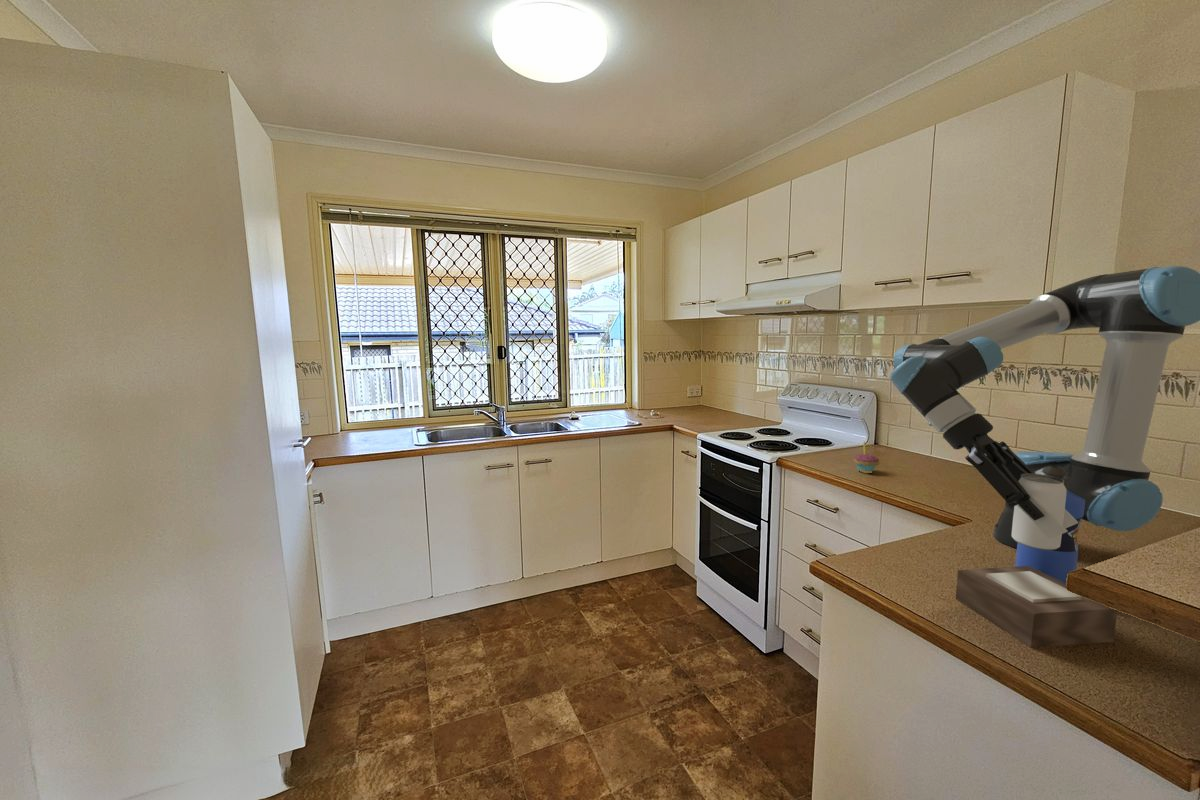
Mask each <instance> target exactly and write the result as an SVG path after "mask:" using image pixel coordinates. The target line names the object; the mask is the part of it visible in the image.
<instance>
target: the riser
mask: <svg viewBox="0 0 1200 800" xmlns="http://www.w3.org/2000/svg"><path fill="white" fill-rule="evenodd" d="M956 577H957V578H956V588H955V589H956V590H955V599H956V601H959V602H960V603H962V604H963V605H965V606H966V607H968V608H969V609H970V610H972V611H974V612H975V613H977V614H978V615H980V616H981V617H983V618H984V617H985V619H986V620H988V621H989V622H991V623H993V624H994V625H995V626H996V627H998V628H1000V629H1002V630H1003V631H1004V632H1006V633H1008V634H1009V635H1011V636H1012V637H1014V638H1015V639H1017V640H1019V641H1020V642H1021V643H1023V644H1024V645H1025V646H1028V647H1029V648H1031V649H1033V648H1044V647H1055V646H1056V647H1058V646H1060V647H1061V646H1073V645H1086V644H1087V645H1089V644H1101V643H1104V644H1105V643H1114V642H1115V641H1114V640H1115V632H1116V624H1117V616H1118V610H1114V609H1111V608H1109V607H1106V606H1104V605H1102V604H1100V603H1097V602H1095V601H1092V600H1089V599H1087V598H1084V597H1082V596H1080V595H1077V594H1075V593H1072V592H1070V591H1068V590H1067V588H1066V583H1064V582H1061V581H1059V580H1057V579H1055V578H1053V577H1051V576H1049V575H1047V574H1045V573H1043V572H1041V571H1038V570H1036V569H1034V568H1032V567H1030V566H1019V567H1015V566H1003V567H1001V566H1000V567H988V568H987V567H986V568H985V567H983V568H969V569H968V568H967V569H965V568H964V569H958V570H957V576H956Z"/></svg>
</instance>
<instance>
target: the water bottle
mask: <svg viewBox="0 0 1200 800" xmlns="http://www.w3.org/2000/svg"><path fill="white" fill-rule="evenodd" d="M1042 471H1043V473H1044V474H1045V475H1048V476H1053V477H1057V478H1060V479H1062V480H1064V486H1065V488H1066V487H1068V485H1069V479H1068V478H1065V476H1067V475H1068V473H1067V472H1066V471H1065V470H1064V469H1063V468H1062V467H1060V466H1048V467H1047V468H1045V469H1043V470H1042ZM1066 490H1067V493H1066V503H1065V509H1066V510H1067V511H1068V512H1069V513H1070V514H1071V515H1072V516H1073V517H1074V518H1075V519H1076V520H1077V521H1078V522H1079V523H1077V524H1075V525H1073V526H1070V527H1068V528H1066V530H1067V532H1066V533H1063V534H1062V537H1061V545H1060V547H1059V548H1057V549H1055V550H1042V549H1036V548H1032V547H1028V546H1025V545H1022V544H1020V543H1018V544H1017V548H1016V554H1015V565H1014V567H1019V566H1030V567H1032V568H1034V569H1036V570H1038V571H1041V572H1043V573H1045V574H1047V575H1049V576H1051V577H1053V578H1055V579H1057V580H1059V581H1061V582H1064V583H1066V578H1067V574H1068V573H1069V572H1070V571H1073V570H1076V571H1077V568H1078V567H1077V565H1078V557H1079V556H1078V555H1079V545H1078V533H1079V529H1080V525H1081V523H1082V517H1083V516H1084V508H1085V500H1084V499H1083V498H1081V497H1079V496H1077V495H1075V494H1073V493H1071V492H1070V491H1069V490H1068V489H1067V488H1066Z"/></svg>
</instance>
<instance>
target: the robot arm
mask: <svg viewBox="0 0 1200 800" xmlns="http://www.w3.org/2000/svg"><path fill="white" fill-rule="evenodd" d="M1198 322H1200V272H1199V271H1198V270H1195V269H1193V268H1191V267H1187V266H1181V265H1177V266H1173V265H1172V266H1158V267H1157V266H1154V267H1149V268H1143V269H1142V268H1141V269H1138V270H1137V269H1136V270H1129V271H1123V272H1115V273H1114V272H1113V273H1110V274H1109V273H1107V274H1099V275H1098V274H1097V275H1094V276H1091V277H1087V278H1083V279H1080V280H1078V281H1074V282H1072V283H1069V284H1066V285H1063V286H1062V287H1059V288H1055V289H1054V290H1051V291H1048V292H1046V293H1043V294H1041V295H1037V296H1036V297H1034V298H1033V299H1032V300H1031V301H1029V303H1028V304H1026V305H1023V306H1020V307H1017V308H1016V309H1013V310H1010V311H1008V312H1004V313H1001V314H999V315H996V316H994V317H991V318H988V319H986V320H983V321H980V322H977V323H974V324H972V325H969V326H966V327H964V328H961V329H958V330H956V331H953V332H949V333H948V334H945V335H942V336H940V337H937V338H935V339H930V340H928V341H925V342H923V343H919V344H916V343H913V344H912V343H911V344H906V345H902V346H901V347H900V348H898V349H897V351H896V352H895V353H894V355H893V360H892V361H893V367H894V369H893V370H892V371H891V373H890V375H889V379H890V381H891V382H892V384H893V385H894V387H895V388H896V389H897V390H898V391H899V393H900V395H903V396H904V397H905V398H906V400H907V401H909V403H910V404H911V405H912V406H913V407H914V408H915V410H917V411H918V412H919V413H920V414H921V415H922V416H923V417H924V418H925V420H927V421H928V423H927V425H928V426H929V427H933V428H934V429H935V430H936V431H937V432H938V433H942V438H943V440H945V442H947V443H948V444H949V445H950V447H952V449H954V450H955V451H956V450H961V449H963V448H965V449H966V451H967V452H968V453H969V454H968V455H966V456H965V457H964V458H965V460H966V461H967V462H968V463H970V465H971V466H973V467H974V468H975V470H977V471H978V473H979V474H980V475H982V476H983V478H984V479H985V480H986V481H987V482H988V484H990V485H991V487H992V488H993V489H995V491H996V492H997V493H998V494H999V496H1000V497H1001V498H1002V499H1003V500H1004V501H1005V505H1004V508H1003V511H1002V512H1001V514H1000V515H999V518H998V520H997V522H996V523H995V524H994V528H993V535H992V536H993V537H994V539H996V540H997V541H999V542H1001V543H1002V544H1004V545H1006V546H1008V547H1011V548H1015V549H1017V544H1018V542H1016V541H1015V540H1014V539H1013V538H1012V524H1013V514H1014V506H1016V505H1018V506H1019V507H1020V508H1021V510H1022V511H1023V512H1024V513H1025V514H1026V515H1027V516H1028V517H1029V518H1030V519H1031V520H1032V521H1033V522H1034V523H1035V524H1036V525H1037V526H1038V527H1039V528H1040V529H1041V530H1042V532H1043V533H1044V534H1045V535H1046V536H1047V537H1048V538H1049V539H1051V538H1054V537H1056V536H1059V535H1061V534H1063V533H1066V532H1067V530H1066V528H1068V527H1070V526H1073V525H1075V524H1077V523H1079V522H1078V521H1077V520H1076V519H1075V518H1074V517H1073V516H1072V515H1071V514H1070V513H1069V512H1068V511H1067V510H1066V509H1065V512H1064V520H1063V526H1062V525H1061V524H1060V523H1059V522H1058V520H1057V519H1056V518H1055V517H1054V516H1053V515H1052V514H1051V513H1050V512H1049V511H1048V510H1047V509H1046V508H1045V507H1044V506H1043V505H1042V504H1041V503H1040V502H1039V501H1038V500H1037V499H1036V498H1035V497H1033V498H1031V497H1030V495H1029V494H1028V493H1027V492H1026V491H1025V489H1024V488H1023V487H1022V486H1021V484H1020V483H1019V482H1018V481H1019V480H1020V478H1021V475H1022V474H1041V475H1045V474H1044V473H1043V471H1042V470H1043V469H1045V468H1047V467H1048V466H1060V467H1062V468H1063V469H1064V470H1065V471H1066V472H1067V473H1068V475H1067V476H1065V478H1068V479H1069V485H1068V487H1066V488H1067V489H1068V490H1069V491H1070V492H1071V493H1073V494H1075V495H1077V496H1079V497H1081V498H1083V499H1084V500H1085V508H1084V516H1083V517H1082V519H1081V521H1082V520H1083V521H1086V522H1088V523H1090V524H1093V525H1095V526H1096V527H1103V528H1106V529H1110V530H1113V531H1116V532H1127V531H1134V530H1137V529H1140V528H1142V527H1144V526H1145V525H1147V524H1148V523H1150V522H1151V521H1152V520H1154V519H1155V517H1157V514H1158V513H1159V511H1160V510H1161V507H1162V506H1163V499H1164V497H1163V493H1162V492H1161V488H1160V487H1159V486H1158V485H1157V484H1156V483H1154V482H1153V481H1151V480H1149V479H1150V475H1151V468H1149V467H1148V466H1147V465H1146V463H1144V461H1143V456H1144V452H1145V447H1146V442H1147V438H1148V434H1149V430H1150V425H1151V422H1152V417H1153V413H1154V408H1155V405H1156V400H1157V395H1158V392H1159V387H1160V385H1161V379H1162V375H1163V370H1164V368H1165V363H1166V358H1167V354H1168V349H1169V345H1171V344H1172V343H1174V342H1176V341H1177V340H1179V339H1181V338H1183V337H1184V333H1185V328H1186V327H1188V326H1191V325H1193V324H1196V323H1198ZM1088 328H1089V329H1091V328H1094V329H1095V328H1099V330H1098V335H1099V336H1100V337H1101V338H1102V339H1103V340H1104V341H1105V342H1106V343H1105V344H1106V345H1105V349H1104V353H1103V358H1102V362H1101V367H1100V371H1099V376H1098V380H1097V385H1096V389H1095V394H1094V398H1093V403H1092V408H1091V412H1090V417H1089V422H1088V426H1087V429H1086V430H1087V431H1086V436H1085V440H1084V444H1083V449H1082V450H1081V451H1080V452H1079V453H1076V454H1072V453H1066V452H1054V451H1053V452H1052V451H1027V450H1026V451H1016V452H1014V451H1013V450H1012V449H1011V448H1010V447H1009V446H1008V445H1007V443H1006V442H1004V441H1000V442H998V441H996V440H994V439H993V438H992V437H990V436H989V435H988V434H989V433H991V432H992V431H993V429H994V426H993V424H992V423H990V422H989V420H987V419H986V418H985V417H984V416H983V415H982V414H981V413H976V412H977V408H976V407H975V406H973V404H972V403H970V402H969V400H968V399H966V398H965V397H964V396H963V395H962V394H961V393H960V392H959V391H958V389H960V388H962V387H965V386H966V385H968V384H970V383H973V382H974V381H976V380H979V379H980V378H982V377H984V376H985V377H986V376H987V375H989V374H990V373H991V372H993V371H995V370H997V369H998V368H999V367H1000V366H1002V365H1003V364H1002V363H1003V361H1004V353H1003V351H1002V350H1003V349H1006V348H1008V347H1011V346H1014V345H1017V344H1020V343H1022V342H1024V341H1027V340H1030V339H1031V340H1032V338H1033V339H1034V338H1036V337H1038V336H1042V335H1043V334H1044V335H1045V334H1047V335H1056V334H1059V333H1062V332H1063V333H1064V332H1066V331H1071V330H1076V329H1077V330H1078V329H1079V330H1080V329H1088ZM1030 498H1031V499H1030Z"/></svg>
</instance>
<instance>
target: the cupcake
mask: <svg viewBox="0 0 1200 800" xmlns="http://www.w3.org/2000/svg"><path fill="white" fill-rule="evenodd" d="M853 462H854V463H855V466H856V467H857V468H856V469H857V470H858V469H860V470H865V471H873V472H874V469H875V468H876V467H877V466H879V464H880V460H879V458H878V457H876V456H875V455H873V454H868V453H867V451H866V442H865V441H863V453H860V454H858V455H857V454H856V456H855V457H854V459H853Z"/></svg>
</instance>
